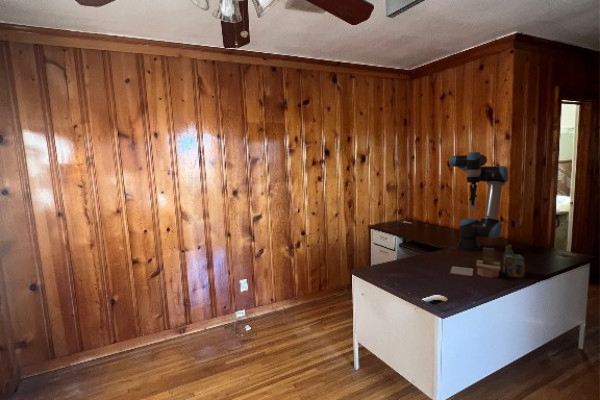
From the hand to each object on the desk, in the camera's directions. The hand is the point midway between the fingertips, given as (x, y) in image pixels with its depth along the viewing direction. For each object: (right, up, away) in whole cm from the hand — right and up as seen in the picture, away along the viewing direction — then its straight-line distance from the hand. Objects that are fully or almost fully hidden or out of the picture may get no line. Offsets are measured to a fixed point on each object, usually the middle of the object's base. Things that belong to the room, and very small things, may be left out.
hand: (473, 208), depth 208 cm
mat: (-12, -39, -10) cm, 42 cm away
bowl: (0, -39, -17) cm, 43 cm away
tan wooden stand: (-1, -34, -18) cm, 38 cm away
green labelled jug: (+13, -39, -19) cm, 46 cm away
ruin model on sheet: (+32, -34, +13) cm, 48 cm away
